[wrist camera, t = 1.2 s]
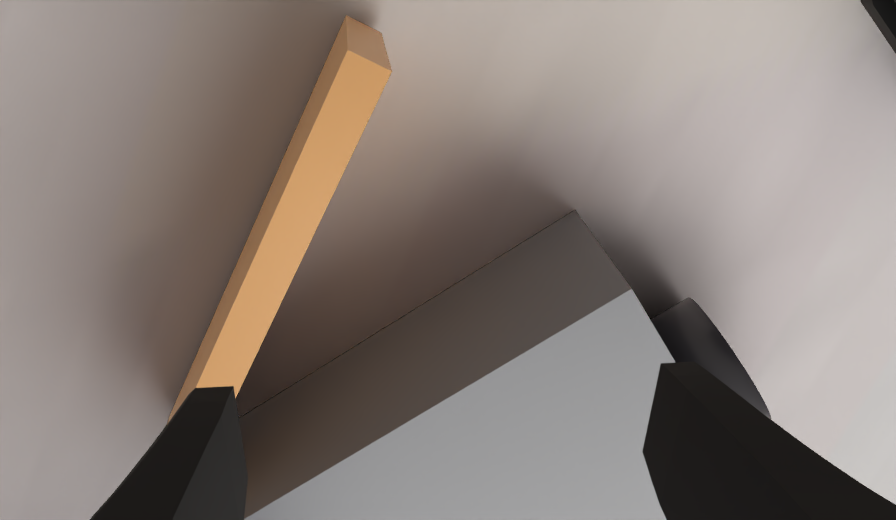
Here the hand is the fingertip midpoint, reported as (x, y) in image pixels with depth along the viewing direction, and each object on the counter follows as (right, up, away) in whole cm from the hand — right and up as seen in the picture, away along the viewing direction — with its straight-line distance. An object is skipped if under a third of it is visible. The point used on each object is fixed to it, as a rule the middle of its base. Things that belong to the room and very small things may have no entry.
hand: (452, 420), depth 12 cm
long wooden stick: (-5, +3, +9) cm, 11 cm away
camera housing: (+1, -4, +14) cm, 15 cm away
